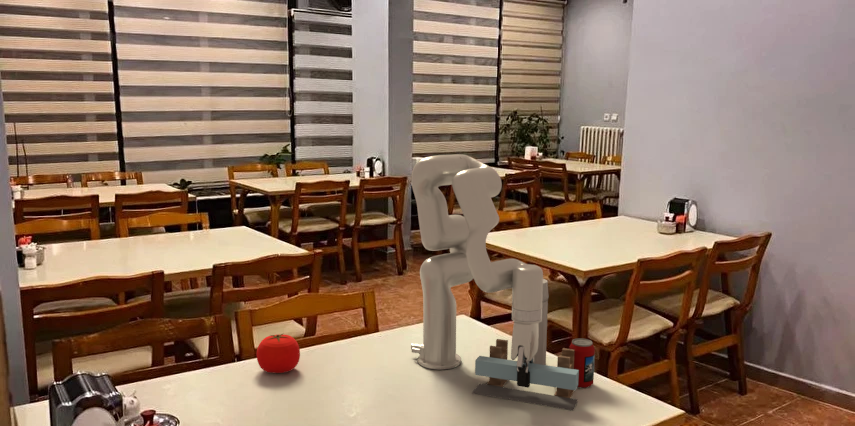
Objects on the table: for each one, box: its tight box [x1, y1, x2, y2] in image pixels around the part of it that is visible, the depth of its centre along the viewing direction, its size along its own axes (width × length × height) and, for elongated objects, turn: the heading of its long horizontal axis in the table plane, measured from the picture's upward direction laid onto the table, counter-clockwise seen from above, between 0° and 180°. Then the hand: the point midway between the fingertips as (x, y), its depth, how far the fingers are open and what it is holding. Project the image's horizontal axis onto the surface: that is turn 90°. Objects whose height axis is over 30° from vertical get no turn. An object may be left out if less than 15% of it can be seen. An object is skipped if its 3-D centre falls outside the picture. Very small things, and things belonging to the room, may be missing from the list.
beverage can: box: [568, 337, 596, 389], centre depth 184 cm, size 7×7×12 cm
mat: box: [472, 382, 578, 412], centre depth 176 cm, size 26×6×1 cm, turn 67°
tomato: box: [255, 332, 301, 374], centre depth 192 cm, size 12×12×10 cm
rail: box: [474, 355, 579, 391], centre depth 175 cm, size 26×4×4 cm, turn 67°
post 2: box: [553, 347, 575, 398], centre depth 178 cm, size 4×7×11 cm, turn 157°
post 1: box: [486, 338, 509, 387], centre depth 185 cm, size 4×7×11 cm, turn 157°
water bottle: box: [534, 278, 549, 365], centre depth 197 cm, size 9×8×25 cm
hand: (525, 382), depth 176 cm, fingers closed on rail, 3 cm apart
